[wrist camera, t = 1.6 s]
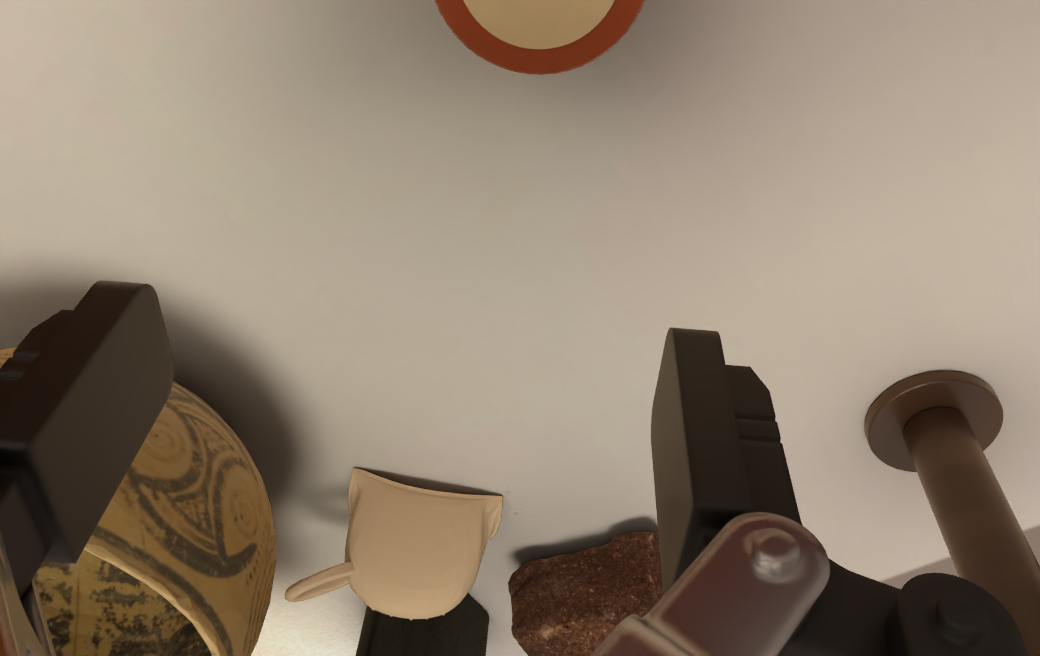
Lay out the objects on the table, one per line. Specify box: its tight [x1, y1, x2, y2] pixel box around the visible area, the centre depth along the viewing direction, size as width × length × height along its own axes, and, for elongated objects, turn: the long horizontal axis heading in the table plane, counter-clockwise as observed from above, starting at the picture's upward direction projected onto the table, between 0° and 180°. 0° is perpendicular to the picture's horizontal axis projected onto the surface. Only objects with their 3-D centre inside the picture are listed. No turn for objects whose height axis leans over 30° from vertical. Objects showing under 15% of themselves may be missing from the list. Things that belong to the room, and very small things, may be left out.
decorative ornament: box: [285, 468, 503, 621], centre depth 38 cm, size 4×8×5 cm, turn 76°
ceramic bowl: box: [0, 347, 276, 656], centre depth 32 cm, size 22×17×15 cm
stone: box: [508, 532, 663, 656], centre depth 39 cm, size 8×3×5 cm, turn 119°
